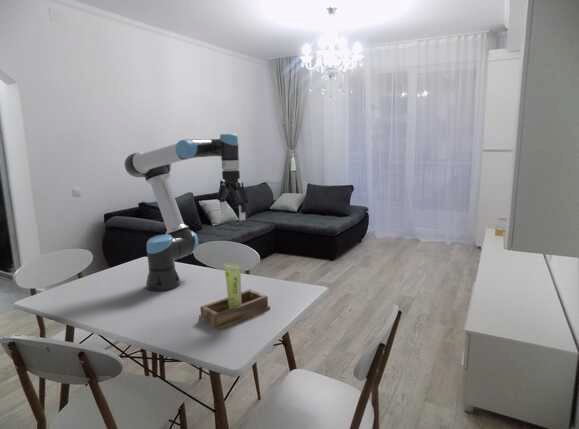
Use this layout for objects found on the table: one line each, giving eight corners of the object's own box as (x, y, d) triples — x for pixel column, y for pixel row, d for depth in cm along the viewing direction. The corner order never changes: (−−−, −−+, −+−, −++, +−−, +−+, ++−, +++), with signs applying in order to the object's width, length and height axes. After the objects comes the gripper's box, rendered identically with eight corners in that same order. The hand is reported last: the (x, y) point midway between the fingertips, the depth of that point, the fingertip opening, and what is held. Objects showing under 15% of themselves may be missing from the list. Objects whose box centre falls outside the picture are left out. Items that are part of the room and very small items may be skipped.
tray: (199, 318, 150) (198, 305, 149) (248, 299, 167) (247, 288, 166) (220, 330, 141) (219, 317, 140) (270, 309, 157) (269, 297, 156)
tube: (228, 315, 150) (225, 266, 147) (226, 309, 155) (223, 262, 151) (243, 312, 152) (240, 264, 148) (240, 307, 157) (238, 260, 153)
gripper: (207, 169, 177) (210, 215, 181) (241, 171, 159) (243, 223, 163) (221, 168, 182) (223, 213, 186) (255, 170, 164) (257, 220, 168)
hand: (233, 218), depth 175 cm, fingers open, 13 cm apart
